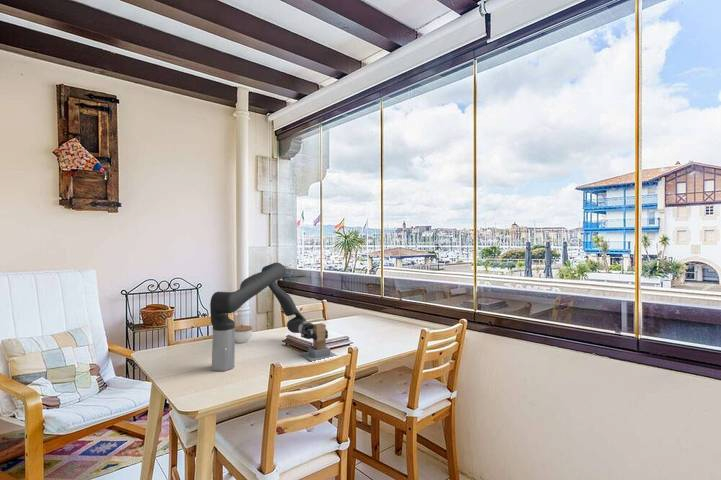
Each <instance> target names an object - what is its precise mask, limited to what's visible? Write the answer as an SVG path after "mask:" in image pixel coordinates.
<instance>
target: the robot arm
mask: <svg viewBox="0 0 721 480" xmlns="http://www.w3.org/2000/svg"><path fill="white" fill-rule="evenodd" d="M285 273H286V269H285V267H284V265H283V264H282V263H280V262H272V263H270V264H268V265H265V266H263V267H262V268H261V271H260V272H257V273H254V274H252V275H250V276H248V277H246V278H245V279H243V280H242V281H241V282H240V285H239V289H237V290H235V291H231V292H230V291H215V292H214V293H213V294H212V295H211V298H210V304H209V308H210V309H209V311H210V312H209V313H210V324H211V325H212V326H211V327H212V341H211V342H212V349H211V371H217V372H218V371H221V372H225V371H226V372H227V371H228V370H231V369H233V368H235V345H236V344H235V343H236V341H235V326H236V324H235V320H233V319H231V318H230V317H229V316H228V315H227V314H233V313H235V312H236V311H238V310H239V309H240V308H241V307H242V306H243V305H244V304H245V303H247V302H248V301H249V300H250V299H252V298H253V297H255V296H257V295H258V294H260V293H261V292H262V291H263V290H265V289H266V288H269V289H270V290H271V292H272V294H273V295H274V296H275V298H276V299H277V301H278V302H279V305H280V307H281V308H282V312H283V314H284V315H285V316H286V317H289V316H290V317H291V316H293V315H295V316H294V317H293V318H291V319H289V320H288V321H287V323H286V327H287V329H288V330H289V332H290V333H294V334H300V337H301V338H302V339H307V340H313V339H314V340H317V335H315V334H313V324H314V323H312V322H310V321H307V319H306V318H305V317H304V316H303V315H302V313H301V312H300V311H299V310H298V308H297V306H296V305H295V304H296V303H295V302H294V300H293V298H292V297H291V295H290V294H289V293H287V292H286V291H284V290H283V289H282V288H281V287H280V286H279V285H278V283H277V281H278V280H281V279H282V278H284V276H285ZM328 332H329V331H328V329H326V340H327V339H328V337H329V333H328Z"/></svg>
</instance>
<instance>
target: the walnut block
mask: <svg viewBox="0 0 721 480" xmlns="http://www.w3.org/2000/svg"><path fill="white" fill-rule="evenodd" d="M312 324H313V334H315V335H317V340H314V339H312V345H313V346H312V347H313V349H315V350H323V349H325V347H327V346H326V345H327V344H326V340H327V339H326V330H327V328H326V327H327V326H326V324H325V323H322V322H319V323H312Z"/></svg>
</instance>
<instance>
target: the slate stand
mask: <svg viewBox="0 0 721 480" xmlns="http://www.w3.org/2000/svg"><path fill="white" fill-rule="evenodd" d="M307 349H308V350H307V351H306V352H305V351H304V352H300V353H299V354H300V356H301V357H303V358H305V359H306V360H307V361H308V362H310V363H311V362H312V361H316V360H321V359H325V358H329V357H333V356H338V355H337V354H335V353H333V352H332V351H331V348H329V347H327V346H326V347H325V349H323V350H315V349H313V346H309V347H308V348H307ZM312 363H313V362H312Z"/></svg>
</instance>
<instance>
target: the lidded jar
mask: <svg viewBox="0 0 721 480" xmlns="http://www.w3.org/2000/svg"><path fill="white" fill-rule="evenodd" d="M252 334H253V327H252V326H251V325H245V324H243V323H242V324H241V325H235V343H236V344H244V343H248V342H249V340H250V339H251V337H252Z"/></svg>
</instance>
